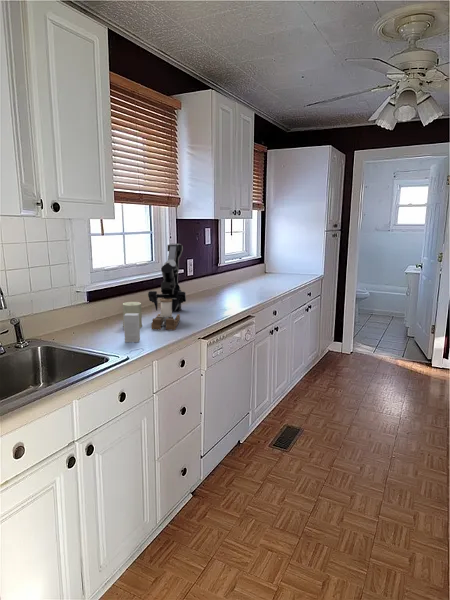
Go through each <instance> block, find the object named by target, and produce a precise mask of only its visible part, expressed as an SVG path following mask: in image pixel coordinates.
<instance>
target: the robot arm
mask: <svg viewBox="0 0 450 600" xmlns="http://www.w3.org/2000/svg"><path fill="white" fill-rule="evenodd" d="M166 249H167V252H168V254H167V255H168V256H167V260H166V261H165V262H164V264H163V265H162V266H161V274H162V278H163V281H161V283H160V288H161V289H160V292H161V293H158V292H157V291H156V290H149V292H148V293H147V297H148V299H149V302H151V303H153V304H154V307H155V310H156V311H158V306H159V305H158V303H159V302H158V299H161V298H172V312H179V311H182V304H183V303H186V301H187V294H186V292H185V291H182V290H181V287H180V285H179V266H180V265H179V263H180V262H179V261H180V259H181V257H182V253H183V252H184V251H183V250H184V247H183V244H181V243H169V244H167V248H166Z"/></svg>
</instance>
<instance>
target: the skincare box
mask: <svg viewBox="0 0 450 600" xmlns="http://www.w3.org/2000/svg"><path fill="white" fill-rule="evenodd" d="M140 329H141V327H140V326H139V313H126V314H125V315H124V327H123V330H124V342H125V343H139V342H140V340H141V333H140V332H141V331H140Z"/></svg>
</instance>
